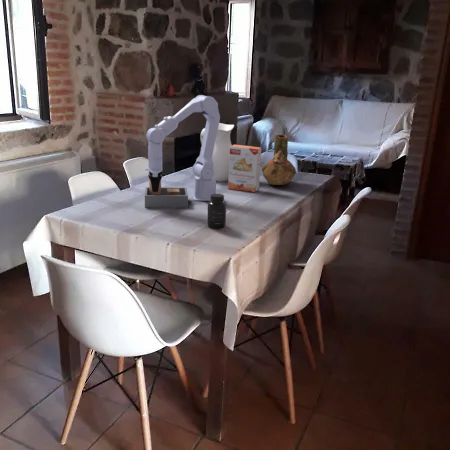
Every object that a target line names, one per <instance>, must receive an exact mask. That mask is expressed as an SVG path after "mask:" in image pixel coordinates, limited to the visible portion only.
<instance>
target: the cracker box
mask: <svg viewBox="0 0 450 450" xmlns="http://www.w3.org/2000/svg"><path fill="white" fill-rule="evenodd" d="M261 161H262V147H258V146H253V145H251V146H250V145H242V144H232V146H230V158H229V179H228V180H227V181H228V182H227V183H228V184H227V185H228V187H227V189H228V190H234V189H235V191H241V190H245V191H244V192H247V191H254V192H255V191H257V190H258V191H259V189H260V177H261V163H262V162H261ZM258 191H257V192H258ZM254 192H253V193H254ZM255 193H256V192H255Z"/></svg>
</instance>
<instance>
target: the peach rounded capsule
mask: <svg viewBox="0 0 450 450" xmlns="http://www.w3.org/2000/svg"><path fill="white" fill-rule="evenodd" d="M148 187H149V194H150V195H160V194H161V187H162V179H161V180H160V184H159V190H158V192H153V191H152V185H151V181H150V179H149V178H148Z"/></svg>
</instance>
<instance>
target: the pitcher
mask: <svg viewBox="0 0 450 450" xmlns="http://www.w3.org/2000/svg"><path fill="white" fill-rule="evenodd" d="M234 128H235V124H225V123H221V122H219V126H218V131H217V135H216V140H215V145H214V150H213V155H212V161H213V164H214V165H213V170H214V175H213V177H212V178H211V179H215V180H216V182H227V181H228V179H229V158H230V146H232V145H233V144H232V141H231V133H232V130H233V129H234ZM204 132H205V127H204V128H203V129H202V130H201V132H200V144H202V142H203V137H204Z"/></svg>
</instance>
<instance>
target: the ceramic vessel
mask: <svg viewBox="0 0 450 450" xmlns="http://www.w3.org/2000/svg"><path fill="white" fill-rule="evenodd" d="M273 141H274V143H273V157H272V159H270V160H269V161H267V162H265V163H264V164H263V165H262V166H261V171H262V175H263V177H264V179H265V180H266V182H267V183H268V185H269V184H270V185H272V186H275V185H282V186H285V185H286V184H288V183H290V182H291V181H292V180H293V179H294V177H295V175H296V174H297V169H296V167H295V166H294V165H293V163H292V161H290V160H288V153H289V152H288V145H289V143H288V142H289V139H288V136H287V135H286V134H276V135H274V140H273Z"/></svg>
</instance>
